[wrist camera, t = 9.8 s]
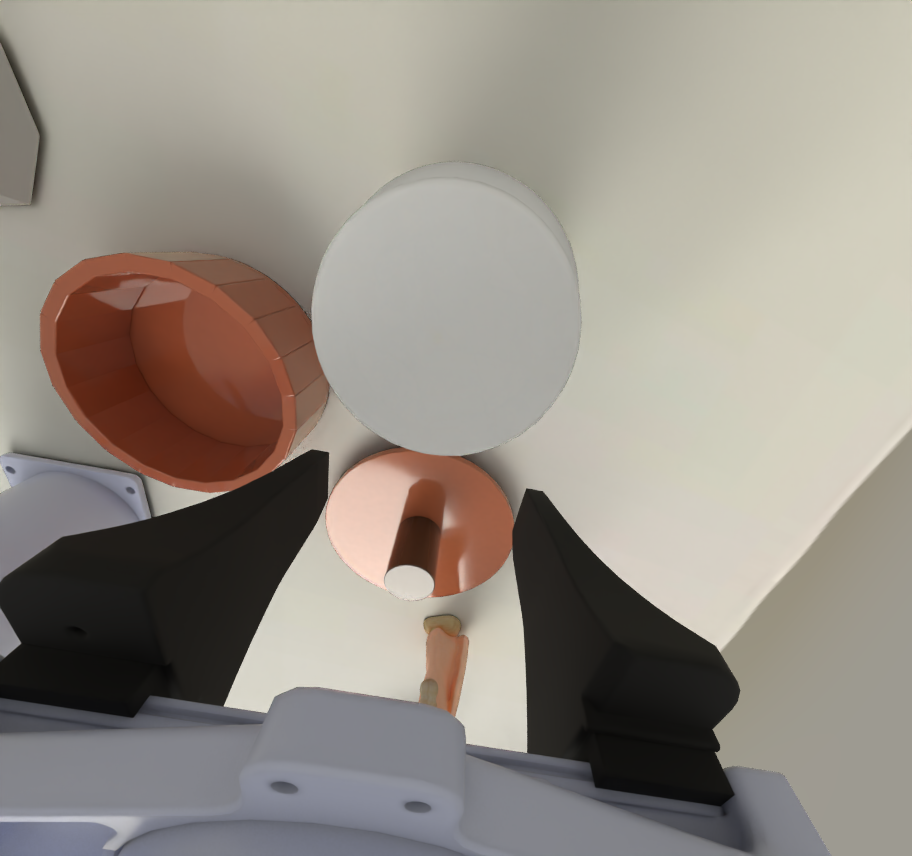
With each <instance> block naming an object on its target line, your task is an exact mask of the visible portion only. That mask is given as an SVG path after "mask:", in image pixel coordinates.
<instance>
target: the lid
mask: <svg viewBox="0 0 912 856" xmlns="http://www.w3.org/2000/svg"><path fill="white" fill-rule="evenodd" d="M325 517H326V528H327V532H328V536H329V538H330V541H331V544H332V546H333V547H334V549H335V551H336V553H337V554H338V555H339V557H340V558H341V559H342V561H343V562H344V563H345V564H346V565H347V566H348V567H349V568H350V569H351V570H353V571H354V572H355V573H356V574H357V575H359V576H360V577H362V578H363V579H365V580H366V581H368V582H370V583H372V584H374V585H376V586H378V587H380V588H383V589H385V590H388V591H389V592H390V593H391V594H392V595H394V596H395V597H397V598H400V599H403V600H408V601H417V600H421V599H424V598H426V597H443V596H449V595H454V594H458V593H462V592H465V591H467V590H470V589H472V588H474V587H476V586H478V585H480V584H482V583H483V582H485V581H486V580H488V579H489V578H491V577H492V576H493V575H494V574H495V573H496V572H497V571H498V570H499V569H500V568H501V567H502V565H503V564H504V562H505V561H506V559H507V558H508V556H509V553H510V551H511V549H512V530H513V527H514V518H513V513H512V509H511V506H510V503H509V501H508V499H507V497H506V495H505V493H504V492H503V490H502V489H501V487H500V486H499V485H498V484H497V483H496V481H495V480H494V479H493V478H492V477H491V476H490V475H489V474H487V473H486V472H485V471H484V470H483V469H481V468H480V467H478V466H477V465H475V464H474V463H472V462H470V461H468V460H466V459H464V458H462V457H460V456H440V455H431V454H424V453H420V452H416V451H412V450H409V449H406V448H403V447H401V448H393V449H389V450H384V451H381V452H378V453H375V454H373V455H370V456H368V457H366V458H364V459H362V460H360V461H359V462H357V463H356V464H354V465H353V466H352V467H350V468H349V469H348V470H347V471H346V472H345V473H344V474H343V475H342V476H341V478H340V479H339V481H338V482H337V483H336V485H335V487H334V488H333V490H332V492H331V494H330V496H329V499H328V503H327V506H326V516H325Z"/></svg>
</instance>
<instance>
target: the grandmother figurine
mask: <svg viewBox="0 0 912 856" xmlns="http://www.w3.org/2000/svg"><path fill="white" fill-rule="evenodd" d="M460 628H461V623H460V621H459V620H458V619H457V618H456V617H454V616H450V615H445V616H437V617H429V618H427V619H425V620H424V629H425V631H426V633H427V634H428V637H427V642H426V671H427V672H426V676H425V679H424V681H423V682H422V683H421V686H420V697H419V702H418V703H422V704H427V705H431V706H434V707H437V708H440V709H443V710H447V711H448V712H449V713H450V714H452V715H453V716H454V717H455V715H456V711H457V707H458V703H459V699H460V694H461V689H462V684H463V679H464V674H465V669H466V662H467V655H468V645H469V640H468V638H467V636H465V635H461V636H460V637H457V636H458V634H459V631H460Z"/></svg>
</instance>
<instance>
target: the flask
mask: <svg viewBox="0 0 912 856" xmlns="http://www.w3.org/2000/svg"><path fill="white" fill-rule="evenodd" d="M39 138H40V135H39V132H38V130H37V127H36V125H35V123H34V120H33V118H32V116H31V113H30V111H29V109H28V106H27V104H26V102H25V99H24V97H23V95H22V92H21V90H20V87H19V85H18V83H17V80H16V78H15V76H14V73H13V71H12V69H11V66H10V64H9V62H8V59H7V57H6V55H5V52H4V50H3V47H2V45H1V43H0V206H6V205H31V199H32V192H33V184H34V176H35V169H36V161H37V154H38V146H39Z"/></svg>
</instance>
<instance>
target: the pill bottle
mask: <svg viewBox="0 0 912 856" xmlns="http://www.w3.org/2000/svg"><path fill="white" fill-rule="evenodd" d="M311 313H312V334H313V339H314V344H315V349H316V352H317V356H318V359H319V362H320V364H321V367H322V369H323V372H324V374H325V376H326V378H327V380H328V382H329V384H330V386H331V387H332V389H333V390H334V392H335V393H336V395H337V396H338V398H339V399H340V401H341V402H342V403H343V405H344V406H345V407H346V408H347V409H348V410H349V411H350V412H351V413H352V414H353V416H354V417H355V418H356V419H357V420H359V421H360V422H361V423H362V424H363V425H365V426H366V427H367V428H369V429H370V430H371V431H373V432H374V433H376V434H377V435H379V436H380V437H382V438H384V439H386V440H388V441H389V442H391V443H393V444H396V445H398V446H401V447H403V448H406V449H409V450H412V451H416V452H420V453H424V454H431V455H440V456H462V455H469V454H474V453H478V452H482V451H486V450H489V449H492V448H495V447H498V446H500V445H502V444H504V443H506V442H508V441H510V440H512V439H514V438H516V437H518V436H519V435H521V434H522V433H523V432H525V431H526V430H527V429H529V428H530V427H531V426H533V425H534V424H536V423H537V422H538V421H539V420H540V419H541V418H542V417H543V415H544V414H545V413H546V412H547V410H548V409H549V408H550V407H551V406H552V405H553V403H554V402H555V400H556V399H557V397H558V396H559V394H560V393H561V391H562V390H563V388H564V387H565V385H566V382H567V380H568V378H569V376H570V374H571V372H572V369H573V366H574V363H575V360H576V356H577V352H578V348H579V342H580V336H581V323H582V321H581V300H580V295H579V284H578V273H577V267H576V262H575V258H574V255H573V251H572V248H571V245H570V242H569V240H568V238H567V236H566V233H565V231H564V229H563V227H562V225H561V224H560V222H559V220H558V219H557V217H556V216H555V214H554V213H553V212H552V210H551V209H550V208H549V207H548V206H547V204H546V203H545V202H544V201H543V200H542V199H541V198H540V197H539V196H538V195H537V194H536V193H535V192H534V191H533V190H531V189H530V188H529V187H527V186H526V185H525V184H524V183H522V182H520V181H519V180H517V179H515V178H513V177H512V176H510V175H508V174H506V173H504V172H501V171H499V170H497V169H495V168H491V167H487V166H484V165H480V164H476V163H469V162H439V163H434V164H429V165H425V166H422V167H419V168H416V169H413V170H411V171H408V172H406V173H404V174H402V175H400V176H398V177H396V178H394V179H393V180H391V181H390V182H388V183H387V184H385V185H384V186H383V187H382V188H380V189H379V190H378V191H377V192H376V193H375V194H374V195H372V196H371V197H370V198H369V199H368V201H367V202H366V203H365V204H364V205H363V206H361V207H360V208H359V209H358V210H357V211H356V212H355V213H354V214H353V215H352V216H351V217H350V218H349V219H348V220H347V221H346V222H345V223H344V225H343V226H342V227H341V229H340V230H339V231H338V233H337V234H336V235H335V237H334V238H333V240H332V241H331V243H330V244H329V246H328V248H327V250H326V252H325V254H324V256H323V258H322V261H321V264H320V267H319V270H318V273H317V277H316V281H315V285H314V290H313V297H312V308H311Z"/></svg>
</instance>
